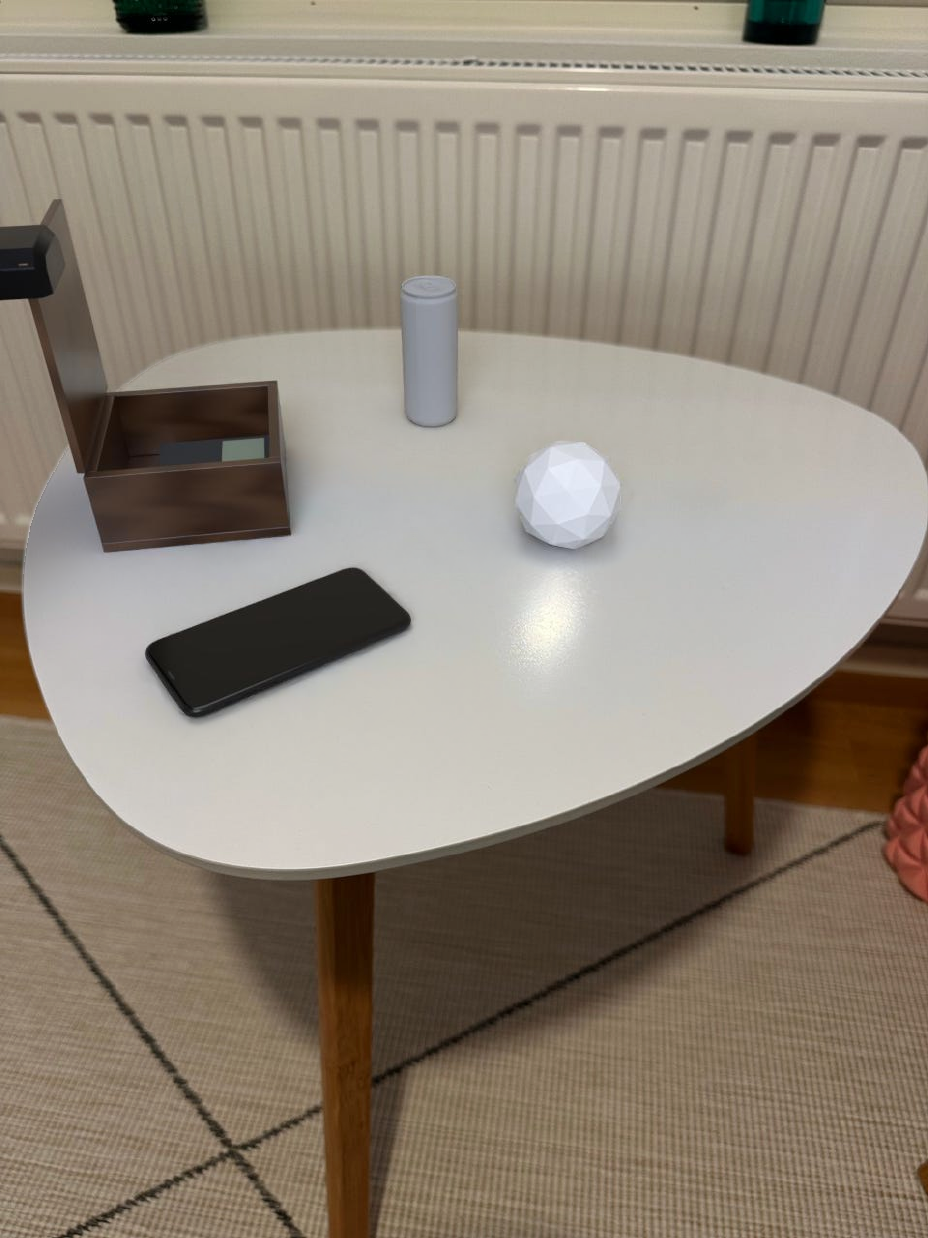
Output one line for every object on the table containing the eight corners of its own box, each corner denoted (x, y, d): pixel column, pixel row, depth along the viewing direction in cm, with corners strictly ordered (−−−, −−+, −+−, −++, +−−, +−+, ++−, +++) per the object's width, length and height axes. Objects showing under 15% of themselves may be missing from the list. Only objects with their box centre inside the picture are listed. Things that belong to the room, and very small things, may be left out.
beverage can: (439, 399, 91) (437, 270, 83) (468, 419, 88) (469, 287, 80) (395, 413, 89) (388, 282, 81) (423, 434, 86) (419, 299, 78)
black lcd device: (162, 513, 74) (154, 476, 72) (167, 476, 79) (159, 441, 77) (275, 502, 75) (270, 467, 73) (274, 467, 80) (269, 432, 78)
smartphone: (357, 571, 70) (141, 655, 62) (356, 561, 69) (138, 644, 62) (418, 629, 65) (190, 727, 57) (417, 618, 64) (187, 716, 57)
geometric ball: (541, 555, 76) (525, 453, 76) (641, 539, 73) (625, 432, 72) (506, 560, 69) (488, 448, 69) (615, 542, 66) (597, 424, 66)
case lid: (61, 198, 69) (52, 198, 69) (28, 263, 58) (17, 264, 58) (108, 387, 78) (100, 388, 78) (86, 473, 67) (77, 474, 67)
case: (285, 448, 84) (277, 379, 80) (290, 535, 73) (280, 461, 69) (122, 461, 82) (105, 391, 78) (103, 552, 72) (82, 478, 68)
